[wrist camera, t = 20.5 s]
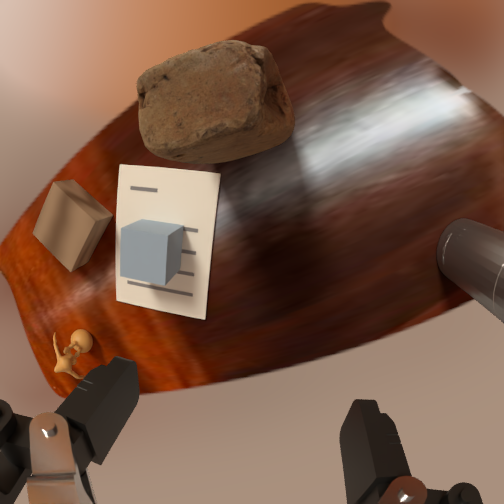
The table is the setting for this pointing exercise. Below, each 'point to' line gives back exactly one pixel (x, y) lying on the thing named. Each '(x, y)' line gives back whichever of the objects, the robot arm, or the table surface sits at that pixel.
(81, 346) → the figurine
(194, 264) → the letter
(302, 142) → the table surface
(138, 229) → the slate cube
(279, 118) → the block
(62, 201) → the walnut block
